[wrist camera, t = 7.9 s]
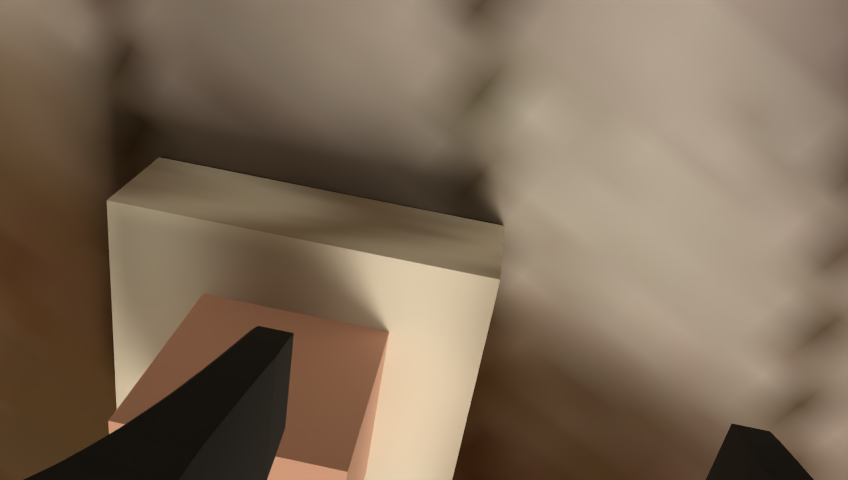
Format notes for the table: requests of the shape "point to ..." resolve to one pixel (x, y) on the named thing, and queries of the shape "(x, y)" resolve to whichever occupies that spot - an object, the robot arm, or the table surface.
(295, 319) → the cube
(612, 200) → the table surface
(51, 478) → the robot arm
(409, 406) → the base
